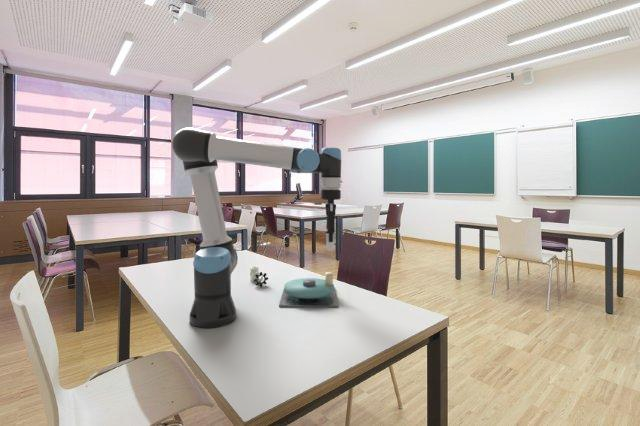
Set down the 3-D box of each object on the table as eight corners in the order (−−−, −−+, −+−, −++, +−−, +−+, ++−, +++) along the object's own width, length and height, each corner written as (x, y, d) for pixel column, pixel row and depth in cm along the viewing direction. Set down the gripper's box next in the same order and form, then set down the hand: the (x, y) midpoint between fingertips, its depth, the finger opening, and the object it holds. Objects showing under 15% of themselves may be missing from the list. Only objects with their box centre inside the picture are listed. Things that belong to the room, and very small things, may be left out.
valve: (246, 280, 157) (254, 287, 147) (246, 266, 157) (254, 273, 146) (259, 278, 161) (268, 285, 150) (259, 265, 160) (268, 271, 149)
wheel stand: (338, 307, 124) (338, 300, 124) (279, 307, 124) (279, 300, 124) (334, 288, 146) (334, 282, 146) (284, 288, 146) (284, 282, 146)
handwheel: (282, 298, 125) (282, 280, 124) (286, 282, 145) (286, 266, 144) (335, 298, 125) (335, 280, 125) (332, 282, 145) (332, 267, 144)
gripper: (342, 189, 117) (341, 253, 119) (338, 188, 137) (337, 243, 139) (321, 189, 117) (320, 253, 119) (320, 188, 137) (320, 243, 139)
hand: (330, 248), depth 129 cm, fingers open, 8 cm apart
